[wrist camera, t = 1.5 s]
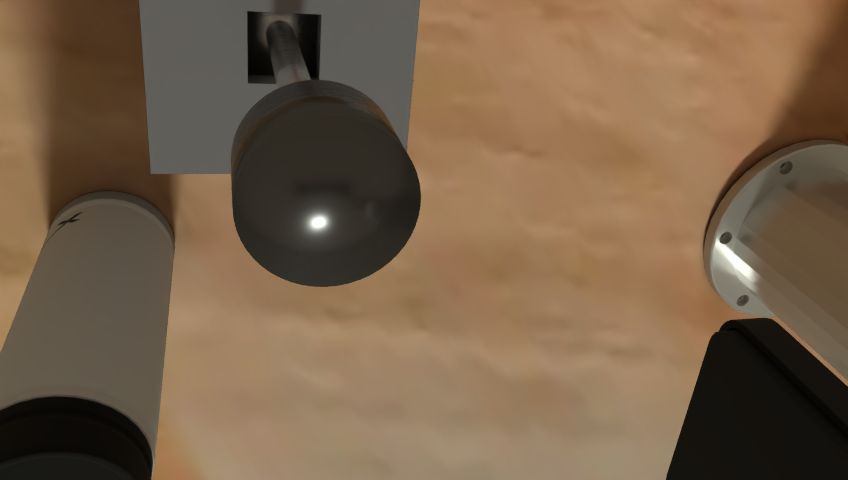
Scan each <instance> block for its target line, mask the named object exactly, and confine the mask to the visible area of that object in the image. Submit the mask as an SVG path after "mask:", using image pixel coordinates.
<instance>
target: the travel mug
mask: <svg viewBox="0 0 848 480" xmlns="http://www.w3.org/2000/svg"><path fill="white" fill-rule="evenodd" d="M174 249H175V245H174V236H173V233H172V230H171V227H170V225H169V224H168V222H167V220H166V219H165V217H164V216H163V215H162V214H161V213H160V212H159V211H158V209H156V208H155V207H154V206H152V205H151V204H150V203H148V202H147V201H145V200H143V199H141V198H139V197H137V196H134V195H130V194H127V193H123V192H116V191H99V192H94V193H89V194H86V195H83V196H81V197H78V198H76V199H74V200H73V201H71V202H70V203H68V204H66V205H65V206H64V207H63V208H62V209H61V210H60V211H59V212H58V214H57V215H56V217H55V218H54V220H53V222H52V224H51V226H50V229H49V231H48V234H47V237H46V239H45V242H44V244H43V247H42V249H41V252H40V254H39V257H38V259H37V262H36V264H35V267H34V269H33V272H32V274H31V277H30V280H29V282H28V285H27V287H26V290H25V292H24V295H23V297H22V300H21V302H20V305H19V307H18V310H17V312H16V315H15V318H14V320H13V323H12V325H11V328H10V330H9V333H8V335H7V338H6V340H5V343H4V345H3V348H2V350H1V353H0V480H151V478H152V475H153V470H154V464H155V451H156V443H157V432H158V422H159V411H160V400H161V389H162V378H163V368H164V357H165V346H166V335H167V325H168V314H169V303H170V292H171V282H172V271H173V259H174Z"/></svg>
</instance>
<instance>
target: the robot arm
mask: <svg viewBox="0 0 848 480" xmlns="http://www.w3.org/2000/svg"><path fill="white" fill-rule="evenodd" d="M703 253H704V268H705V271H706V274H707V278H708V281H709V282H710V284H711V286H712V287H713V289H714V291H715V292H716V293H717V294H718V295H719V296H720V297H721V298H722V299H723V300H724V301H725V302H726V303H727V304H728V305H730V306H731V307H732V308H734V309H735V310H737V311H740V312H742V313H745V314H747V315H751V316H758V317H778V318H779V319H780V320H781V321H782V322H784V323H785V324H786V325H787V326H788V327H789V328H790V329H791V330H792V331H793V332H795V333H796V334H797V335H798V336H799V337H800V338H801V339H802V340H803V341H805V342H806V343H807V344H808V345H809V346H810V347H811V348H812V349H813V350H814V351H816V352H817V353H818V354H819V355H820V356H821V357H822V358H823V359H824V360H826V361H827V362H828V363H829V364H830V365H831V366H832V367H833V368H834V369H835V370H837V371H838V372H839V373H840V374H841V375H842V376H843V377H844V378H845V379H847V380H848V144H846V143H842V142H838V141H834V140H810V141H805V142H800V143H796V144H793V145H790V146H788V147H785V148H783V149H780V150H778V151H776V152H774V153H773V154H771V155H769V156H767V157H766V158H764V159H762V160H761V161H759V162H758V163H757V164H756V165H754V166H753V167H752V168H750V169H749V170H748V171H747V172H746V173H745V174H744V175H743V176H742V177H741V178H740V179H739V180H738V181H737V182H736V183H735V184H734V185H733V186H732V187H731V188H730V190H729V191H728V193H727V194H726V195H725V197H724V198H723V199H722V201H721V202H720V204H719V206H718V208H717V210H716V212H715V213H714V215H713V217H712V219H711V222H710V225H709V228H708V231H707V234H706V238H705V245H704V252H703ZM666 480H848V386H846V385H845V384H844V383H843V382H842V381H841V380H840V379H839V378H838V377H837V376H835V375H834V374H833V373H832V372H831V371H830V370H829V369H828V368H827V367H826V366H824V365H823V364H822V363H821V362H820V361H819V360H818V359H817V358H816V357H814V356H813V355H812V354H811V353H810V352H809V351H808V350H807V349H806V348H805V347H803V346H802V345H801V344H800V343H799V342H798V341H797V340H796V339H795V338H794V337H792V336H791V335H790V334H789V333H788V332H787V331H786V330H785V329H784V328H783V327H781V326H780V325H779V324H778V323H777V322H775V321H774V320H772V319H769V318H754V319H738V320H730V321H727V322H725V323H724V324H723V325H722V326H721V328H720V330H719V332H716V333H714V334H713V335H712V337H711V339H710V341H709V344H708V347H707V350H706V354H705V357H704V360H703V363H702V366H701V369H700V372H699V376H698V379H697V382H696V385H695V388H694V391H693V394H692V398H691V401H690V404H689V407H688V410H687V413H686V417H685V420H684V423H683V426H682V429H681V432H680V435H679V439H678V442H677V445H676V448H675V451H674V454H673V457H672V461H671V464H670V467H669V470H668V473H667V478H666Z"/></svg>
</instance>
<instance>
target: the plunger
mask: <svg viewBox="0 0 848 480" xmlns="http://www.w3.org/2000/svg"><path fill="white" fill-rule="evenodd" d="M317 28H318V14H298V13H277V12H255V11H247V49H248V75H268V76H275V79H276V84H277V88H278V89H276V90H274V91H272V92H271V93H269V94H267V95H266V96H264V97H263V98H262V99H261V100H259V101H258V102H257V103H256V104H255V105H254V106H253V107H252V108H251V109H250V110H249V111H248V112H247V114H246V115H245V117H244V118H243V119H242V121H241V123H240V125H239V127H238V129H237V131H236V134H235V137H234V139H233V144H232V149H231V181H232V204H233V216H234V222H235V226H236V230H237V232H238V235H239V237H240V240H241V241H242V243H243V245H244V246H245V248H246V250H247V251H248V252H249V253H250V255H251V256H252V257H253V258H254V259H255V260H256V261H257V262H258V263H259V264H260V265H261V266H262V267H264V268H265V269H266V270H268V271H269V272H271V273H272V274H274V275H276V276H278V277H280V278H282V279H285V280H287V281H290V282H293V283H297V284H301V285H307V286H315V287H328V286H338V285H343V284H348V283H351V282H354V281H357V280H360V279H362V278H365V277H367V276H369V275H371V274H373V273H374V272H376V271H378V270H380V269H381V268H382V267H384V266H385V265H386V264H388V263H389V262H390V261H391V260H392V259H393V258H394V257H395V256H396V255H397V254H398V253H399V252H400V251H401V249H402V248H403V247H404V246H405V244H406V243H407V241H408V240H409V238H410V236H411V234H412V232H413V230H414V228H415V225H416V222H417V219H418V216H419V210H420V202H421V192H420V183H419V179H418V176H417V172H416V170H415V167H414V165H413V163H412V161H411V159H410V157H409V155H408V154H407V152H406V150H405V148H404V147H403V145H402V143H401V141H400V139H399V138H398V136H397V134H396V132H395V130H394V129H393V127H392V125H391V123H390V121H389V120H388V118H387V116H386V115H385V113H384V112H383V111H382V110H381V108H380V107H379V106H378V105H377V104H376V103H375V102H374V101H373V100H372V99H371V98H369V97H368V96H367V95H365V94H364V93H362V92H361V91H359V90H357V89H355V88H353V87H351V86H348V85H345V84H342V83H338V82H334V81H328V80H311V79H310V77H316V59H317Z"/></svg>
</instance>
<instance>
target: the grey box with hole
mask: <svg viewBox="0 0 848 480" xmlns="http://www.w3.org/2000/svg"><path fill="white" fill-rule="evenodd" d="M419 7H420V0H139V8H140V23H141V37H142V52H143V66H144V81H145V96H146V110H147V125H148V139H149V154H150V168H151V174H231V149H232V144H233V139H234V137H235V134H236V131H237V129H238V127H239V125H240V123H241V121H242V119H243V118H244V117H245V115H246V114H247V112H248V111H249V110H250V109H251V108H252V107H253V106H254V105H255V104H256V103H257V102H258V101H259V100H261V99H262V98H263V97H264V96H266V95H267V94H269V93H271V92H272V91H274V90H276V89H278V88H277V84H276V79H275V76H268V75H248V49H247V11H255V12H277V13H298V14H318V28H317V59H316V77H310V79H311V80H328V81H334V82H338V83H342V84H345V85H348V86H351V87H353V88H355V89H357V90H359V91H361V92H362V93H364V94H365V95H367V96H368V97H369V98H371V99H372V100H373V101H374V102H375V103H376V104H377V105H378V106H379V107H380V108H381V110H382V111H383V112H384V113H385V115H386V116H387V118H388V120H389V121H390V123H391V125H392V127H393V129H394V130H395V132H396V134H397V136H398V138H399V139H400V141H401V143H402V145H403V147H404V148H405V150H406V152H407V141H408V130H409V118H410V107H411V96H412V85H413V74H414V63H415V52H416V40H417V29H418V18H419Z"/></svg>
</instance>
